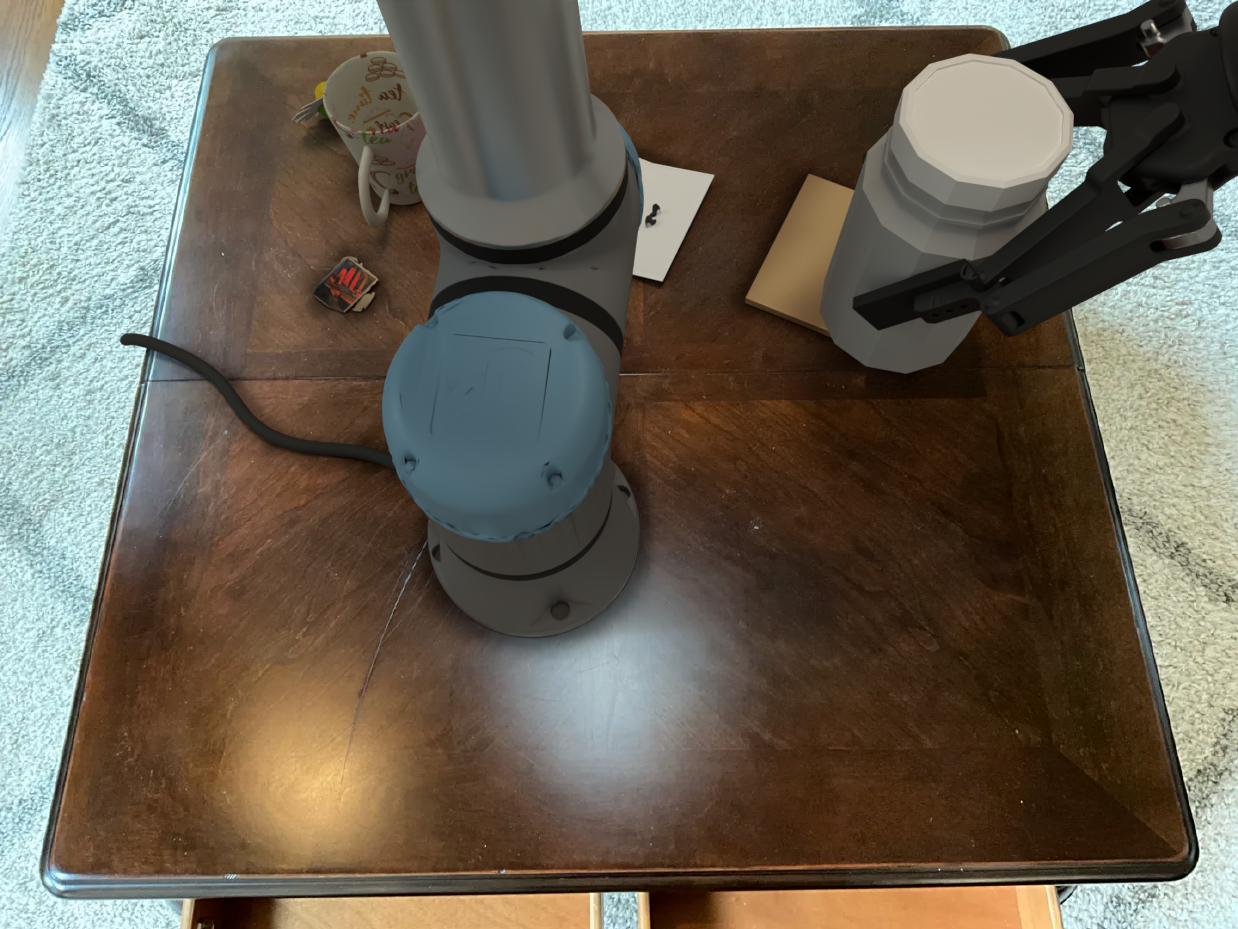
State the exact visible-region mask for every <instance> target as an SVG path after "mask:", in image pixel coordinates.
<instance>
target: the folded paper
mask: <svg viewBox="0 0 1238 929" xmlns="http://www.w3.org/2000/svg"><path fill="white" fill-rule="evenodd" d="M639 161H640V166H641V172H642V183H643V192H644V208H643V216H642V222H641V225H640V227H639V230H638V236H637V244H636V252H635V259H634V267H633V275H632V276H637V277H642V278H645V279H651V280H655V281H658V282H663V281H664V279H665V277H666V275H667V273H668V271H669V269H670V267H671V265H672V263H673V261H674V259H675V256H676V254H678V251H679V248H680V246H681V244H682V242H683V241H684V239H685V237H686V235H687V233H688V230H689V228H690V227H691V225H692V223H693V220H694V218H695V217H696V214H697V212H698V210H699V208H700V206H701V204H702V202H703V200H704V198H705V196H706V194H707V192H708V190H709V187H710V186H711V184H712V181H713V179H714V177H715V174H711V173H706V172H701V171H696V170H690V169H685V168H680V167H674V166H669V165H665V164H659V163H654V162H651V161H648V160H646V159H643V158H641V157H639Z"/></svg>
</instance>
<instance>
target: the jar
mask: <svg viewBox="0 0 1238 929" xmlns="http://www.w3.org/2000/svg"><path fill="white" fill-rule="evenodd" d="M893 116H894V117H893V124H892V125H891V126H890V127H889V128H888V130H887V132H886V133H884V135H883V136H882V137H880V138H879V139H878V140H877V142H875V143H874V144H873V146H871V148H870V149H868V150H867V155H866V158H865V161H864V164H863V163H862V168H861V169H860V173H859V176H858V179H857V182H856V184H855V188H854V190H855V191H854V194H853V197H852V199H851V202H850V205H849V208H848V211H847V214H846V217H845V220H844V223H843V226H842V229H841V232H840V235H839V238H838V241H837V244H836V247H835V250H834V253H833V256H832V259H831V262H830V265H829V268H828V271H827V274H826V277H825V279H824V286H823V292H822V298H821V304H820V311H819V312H820V314H821V316H822V318H823V320H824V322H825V324H826V327H827V329H828V331H829V333H830V335H831V337H832V338H831V337H830V338H831V340H832V342H833V343H834V345H836V346H838V347H839V348H840V349H842V351H844V352H846V353H847V354H848V355H849V356H850V357H852V358H854V359H855V360H857V361H858V362H859V363H860V364H862V365H863V366H865V367H868V368H872V369H878V370H885V371H890V372H895V373H901V374H905V375H906V374H909V373H913V372H917V371H919V370H923V369H926V368H930V367H933V366H936V365H940V364H943V363H944V362H945V361H946V360H947V358H949V356H950V355H951V354H952V353H953V352H954V351H955V350H956V348H957V347H959V345H960V344H961V343H962V342H963V341H964V340H965V338H966V337H967V336H968V334H969V332H970V331H971V329H972V328H973V326H974V325H975V324H976V322H977V320H978V319H979V317H980V316H981V314H983V313H982V312H981V311H976V312H973V313H970V314H966V315H963V316H960V317H956V318H952V319H950V320H945V321H943V322H940V323H937V324H930V323H926V322H925V321H924V320H923V319H922V318H918V319H915V320H911V321H908V322H905V323H902V324H899V325H895V326H892V327H889V328H886V329H883V330H879V331H878V330H877V329H876V328H874V327H873V326H872V325H871V324H870V323H869V322H867V321H866V320H865V319H864V318H863V317H862V316H860V315H859V314H858V313H857V312H856V311H855V310H853V309H852V307H853V297H855V296H858V295H861V294H864V293H867V292H870V291H873V290H875V289H878V288H881V287H884V286H887V285H890V284H893V283H895V282H898V281H901V280H904V279H907V278H910V277H913V276H915V275H918V274H921V273H924V272H927V271H930V270H933V269H935V268H938V267H941V266H944V265H947V264H950V263H953V262H955V261H958V260H961V259H964V258H965V259H966V260H967V261H968V263H969V264H970V265H971V266H972V267H973V268H974V269H975V268H977V267H978V266H979V265H980V264H982V263H983V262H984V261H985V260H987V259H988V258H989V257H990V256H992V255H993V254H994V253H995V252H997V251H998V250H999V249H1000V248H1001V247H1003V246H1004V245H1005V244H1006V243H1008V242H1009V241H1010V240H1011V239H1013V238H1014V237H1015V236H1016V235H1018V234H1019V233H1020V232H1021V231H1023V230H1024V229H1025V228H1026V227H1028V226H1029V225H1030V224H1031V223H1033V222H1034V221H1035V220H1036V219H1038V218H1039V217H1040V216H1041V215H1043V214H1044V213H1045V212H1046V202H1047V191H1048V189H1049V185H1050V184H1049V183H1050V182H1051V180H1052V179H1053V178H1054V177H1055V176H1056V175H1057V174H1058V172H1059V171H1060V169H1061V167H1062V166H1063V164H1064V163H1065V161H1066V160H1067V158H1068V157H1069V155H1070V153H1071V152H1072V151H1073V146H1074V144H1073V141H1074V127H1073V120H1074V114H1073V112H1072V111H1071V109H1070V108H1069V106H1068V105H1067V103H1066V102H1065V100H1064V99H1063V97H1062V96H1061V94H1060V93H1059V91H1058V90H1057V88H1056V87H1055V85H1054V84H1053V83H1052V81H1050V80H1048V79H1046V78H1045V77H1043V76H1041V75H1039V74H1038V73H1036V72H1034V71H1032V70H1031V69H1029V68H1027V67H1026V66H1024V65H1022V64H1020V63H1019V62H1017V61H1015V60H1011V59H1005V58H998V57H991V56H990V55H982V54H978V53H977V54H976V53H965V54H963V55H962V54H961V55H958V56H954V57H952V58H947V59H943V60H939V61H935V62H932V63H928V64H927V66H926V67H925V68H923V70H921V71H920V73H918V74H917V75H916V76H915V77H914V78H913V79H912V80H911V81H910V82H909V83H908V84H907V85H906V86H905V87H903V90H902V93H901V96H900V97H899V101H898V104H897V107H896V110H895V113H894V115H893ZM1003 279H1004V278H1002V279H1000V281H1002V280H1003Z"/></svg>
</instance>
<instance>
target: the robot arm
mask: <svg viewBox="0 0 1238 929" xmlns="http://www.w3.org/2000/svg"><path fill="white" fill-rule="evenodd" d="M375 2H376V4H377V6H378V9H379V11H380V14H381V17H382V19H383V22H384V25H385V27H386V30H387V32H388V36H389V37H390V41H391V43H392V46H393V48H394V51H395V53H396V54H397V56H398V59H399V62H400V64H401V67H402V69H403V72H404V75H405V77H406V80H407V83H408V85H409V88H410V90H411V93H412V96H413V98H414V101H415V104H416V106H417V109H418V111H419V114H420V117H421V119H422V122H423V125H424V127H425V130H426V132H427V133H426V135H425V137H424V139H423V141H422V143H421V146H420V149H419V152H418V155H417V161H416V181H417V186H418V191H419V194H420V197H421V199H422V201H421V202H422V203H423V206H424V208H425V210H426V213H427V215H428V218H429V220H430V222H431V225H432V227H433V229H434V232H435V235H436V237H437V239H438V242H439V249H440V255H439V256H440V257H439V264H438V270H437V273H436V279H435V283H434V288H433V292H432V296H431V301H430V306H429V311H428V315H427V320H426V322H425V323H424V324H421V323H417V324H416V325H415V326H414V328H412V330H411V331H410V332H409V333H408V334H407V335H406V337H405V338H404V339H403V341H402V343H401V344H400V346H399V347H398V349H397V350H396V352H395V354H394V356H393V357H392V360H391V362H390V365H389V367H388V370H387V373H386V377H385V380H384V386H383V392H382V401H381V418H382V426H383V433H384V436H385V440H386V444H387V446H388V452H389V453H388V452H386V451H383V450H380V449H377V448H373V447H369V446H364V445H359V444H353V443H342V442H331V441H317V440H311V439H304V438H300V437H299V438H298V437H295V436H292V435H288V434H285V433H282V432H280V431H278V430H276V429H274V428H272V427H271V426H269V425H267V424H265V423H264V422H263V421H261V420H260V419H259V418H258V417H257V416H256V415H254V413H253V412H252V411H251V409H250V408H249V407H248V405H246V403H245V402H244V400H243V398H241V397H240V395H239V393H238V392H237V390H236V389H235V388H234V387H233V385H232V384H231V383H230V382H229V380H227V378H226V377H225V376H224V375H223V374H222V372H220V371H219V370H218V369H217V368H215V367H214V365H211V364H210V363H208V362H207V361H206V360H204V359H202V358H201V357H199V356H197V355H195V354H194V353H192V352H189V350H186V349H183V348H181V347H180V346H177V345H175V344H173V343H170V342H168V341H166V340H162V339H159V338H156V337H154V336H150V335H146V334H143V333H137V332H127V333H124V334H122V335H121V336H120V339H119V343H120V344H121V345H122V346H125V347H128V346H129V347H130V346H134V347H140V348H143V349H146V350H149V351H150V350H151V351H154V352H156V353H159V354H162V355H164V356H166V357H169V358H170V359H174V360H175V361H178V362H180V363H182V364H184V365H185V366H188V367H189V368H191V369H193V370H195V371H197V372H198V373H200V374H201V375H202V376H204V377H205V378H206V379H207V380H209V382H211V383H212V384H213V386H215V387H216V389H218V391H219V392H220V394H221V395H222V397H223V398H224V399H225V401H226V402H227V403H228V405H229V407H230V408H231V409H232V411H233V412H234V413H235V415H236V416H237V417H238V418H239V419H240V420H241V422H242V423H243V424H244V425H245V426H246V427H247V428H248V429H249V430H251V432H253V433H254V434H256V435H257V436H258V437H259V438H261V439H263V440H265V441H267V442H268V443H271V444H273V445H274V446H278V447H281V448H283V449H286V450H291V451H294V452H298V453H304V454H310V455H319V456H321V455H322V456H331V457H333V456H334V457H344V458H352V459H358V460H363V461H367V462H370V463H371V462H372V463H374V464H378V465H380V466H383V467H386V468H388V469H391V470H393V471H394V472H396V474H397V477H398V478H399V480H400V482H401V484H402V485H403V486H404V488H405V490H406V491H407V494H408V495H409V496H410V498H411V500H412V501H413V502H414V503H415V504H416V505H417V506H418V507H419V508H420V509H421V510H422V512H423V513H424V515H425V516H426V517H427V520H428V521H427V544H428V545H427V546H428V552H429V557H430V562H431V565H432V567H433V568H432V569H433V571H434V573H435V575H436V577H437V579H438V582H439V583H440V585H441V587H442V589H443V590H444V591H445V593H446V594H447V595H448V597H449V598H450V600H452V602H453V603H454V604H455V605H456V606H457V607H458V608H459V610H461V611H462V612H463V613H464V614H465V615H466V616H468V617H469V618H471V619H472V620H473V621H475V622H476V623H478V624H480V625H482V626H483V627H486V628H487V629H491V630H492V631H495V632H498V633H501V634H503V635H508V636H514V637H521V638H541V637H549V636H555V635H559V634H562V633H566V632H569V631H571V630H574V629H576V628H579V627H581V626H583V625H585V624H587V623H588V622H590V621H592V620H593V619H594V618H596V617H597V616H599V615H600V614H602V612H604V611H605V610H606V609H607V608H608V607H609V606H610V605H611V604H612V603H613V602H614V601H615V600H616V599H617V597H618V596H619V595H620V593H621V592H622V590H623V589H624V587H625V586H626V585H627V582H628V581H629V579H630V577H631V574H632V572H633V570H634V567H635V563H636V560H637V558H638V553H639V546H640V529H641V528H640V526H641V525H640V515H639V510H638V505H637V501H636V499H635V495H634V493H633V491H632V488H631V486H630V483H629V482H628V480H627V478H626V476H625V475H624V473H623V472H622V470H621V469H620V467H619V466H618V465H617V464H616V463H615V461H614V460H613V459H612V446H613V444H612V443H613V433H614V424H615V416H616V409H617V408H616V407H617V401H618V400H617V399H618V392H619V383H620V375H621V367H622V366H621V365H622V357H623V348H624V344H625V336H626V328H627V319H628V312H629V304H630V296H631V291H632V290H631V289H632V281H633V276H634V275H633V267H634V259H635V252H636V244H637V236H638V230H639V227H640V225H641V222H642V216H643V208H644V192H643V183H642V172H641V166H640V161H639V158H640V157H639V154H638V152H637V149H636V147H635V145H634V143H633V140H632V139H631V137H630V135H629V134H628V133H627V130H625V128H624V127H623V125H621V123H620V122H619V121H618V119H617V118H616V115H615V114H614V113H613V111H612V110H611V109H610V108H609V107H608V105H607V104H606V103H604V102H603V100H601V99H600V98H598V97H597V96H596V95H594V94H593V93H592V92H591V87H590V79H589V72H588V63H587V57H586V50H585V43H584V42H585V41H584V36H583V28H582V21H581V13H580V6H579V0H375ZM989 56H991V57H998V58H1005V59H1011V60H1015V61H1017V62H1019V63H1020V64H1022V65H1024V66H1026V67H1027V68H1029V69H1031V70H1032V71H1034V72H1036V73H1038V74H1039V75H1041V76H1043V77H1045V78H1046V79H1048V80H1050V81H1052V83H1053V84H1054V85H1055V87H1056V88H1057V90H1058V91H1059V93H1060V94H1061V96H1062V97H1063V99H1064V100H1065V102H1066V103H1067V105H1068V106H1069V108H1070V109H1071V111H1072V112H1073V114H1074V120H1073V128H1093V127H1095V128H1101V129H1102V130H1104V131H1106V133H1105V136H1104V141H1103V144H1102V155H1103V156H1102V157H1101V158H1099V159H1098V160H1097V161H1096V162H1094V163H1093V164H1092V165H1091V166H1090V167H1088V169H1087V171H1086V172H1085V176H1084V177H1085V178H1084V179H1083V181H1082V182H1081V183H1080V184H1078V185H1077V186H1076V187H1075V188H1074V189H1072V190H1071V191H1070V192H1069V193H1068V194H1066V195H1065V196H1064V197H1062V198H1061V199H1060V200H1059V201H1057V202H1056V203H1055V204H1054V205H1052V206H1051V207H1050V208H1048V210H1045V213H1044V214H1043V215H1041V216H1040V217H1039V218H1038V219H1036V220H1035V221H1034V222H1033V223H1031V224H1030V225H1029V226H1028V227H1026V228H1025V229H1024V230H1023V231H1021V232H1020V233H1019V234H1018V235H1016V236H1015V237H1014V238H1013V239H1011V240H1010V241H1009V242H1008V243H1006V244H1005V245H1004V246H1003V247H1001V248H1000V249H999V250H998V251H997V252H995V253H994V254H993V255H992V256H990V257H989V258H988V259H987V260H985V261H984V262H983V263H982V264H980V265H979V266H978V267H977V268H975V269H974V268H973V267H972V266H971V265H970V264H969V263H968V261H967V260H966V259H965V258H964V259H961V260H958V261H955V262H953V263H950V264H947V265H944V266H941V267H938V268H935V269H933V270H930V271H927V272H924V273H921V274H918V275H915V276H913V277H910V278H907V279H904V280H901V281H898V282H895V283H893V284H890V285H887V286H884V287H881V288H878V289H875V290H873V291H870V292H867V293H864V294H861V295H858V296H855V297H853V307H852V309H853V310H855V311H856V312H857V313H858V314H859V315H860V316H862V317H863V318H864V319H865V320H866V321H867V322H869V323H870V324H871V325H872V326H873V327H874V328H876V329H877V330H878V331H879V330H883V329H886V328H889V327H892V326H895V325H899V324H902V323H905V322H908V321H911V320H915V319H918V318H922V319H923V320H924V321H925V322H926V323H930V324H937V323H940V322H943V321H945V320H950V319H952V318H956V317H960V316H963V315H966V314H970V313H973V312H976V311H981V312H982V313H981V314H983V315H984V316H985V318H987V319H988V320H989V321H990V323H992V325H993V326H994V327H996V329H997V330H998V331H999V332H1001V333H1002V335H1003V336H1005V337H1007V338H1014V337H1017V336H1019V335H1021V334H1022V333H1025V332H1027V331H1028V330H1031V329H1033V328H1035V327H1037V326H1039V325H1040V324H1043V323H1045V322H1046V321H1048V320H1051V319H1053V318H1054V317H1056V316H1059V315H1061V314H1062V313H1065V312H1066V311H1069V310H1071V309H1072V308H1075V307H1076V306H1079V305H1081V304H1082V303H1084V302H1087V301H1088V300H1090V299H1093V298H1095V297H1096V296H1099V295H1101V294H1103V293H1105V292H1106V291H1109V290H1110V289H1112V288H1114V287H1116V286H1118V285H1120V284H1122V283H1124V282H1126V281H1128V280H1130V279H1132V278H1134V277H1136V276H1138V275H1141V274H1142V273H1144V272H1146V271H1148V270H1151V269H1152V268H1154V267H1156V266H1159V265H1160V264H1162V263H1164V262H1168V261H1172V260H1177V259H1181V258H1182V259H1183V258H1187V257H1190V256H1195V255H1199V254H1203V253H1207V252H1210V251H1212V250H1214V249H1215V248H1217V247H1218V246H1219V245H1220V244H1221V243H1222V240H1223V233H1222V231H1221V229H1220V228H1219V226H1218V224H1217V222H1216V221H1215V219H1214V197H1215V196H1214V193H1215V192H1216V191H1218V190H1219V189H1221V188H1222V187H1223V186H1225V185H1226V184H1228V183H1229V182H1230V181H1232V180H1233V179H1235V178H1237V177H1238V0H1235V1H1233V2H1231V3H1230V4H1228V5H1227V6H1226V7H1225V8H1224V9H1223V11H1222V12H1221V14H1220V16H1219V19H1218V23H1217V25H1215V26H1213V27H1210V28H1205V29H1201V30H1198V24H1197V23H1196V20H1195V18H1194V16H1193V14H1192V12H1191V9H1190V8H1189V5H1188V4H1187V2H1186V0H1147V1H1145V2H1144V3H1142V4H1140V5H1138V6H1136V7H1134V8H1133V9H1131V10H1129V11H1127V12H1125V13H1121V14H1118V15H1115V16H1112V17H1108V18H1105V19H1102V20H1099V21H1095V22H1092V23H1089V24H1086V25H1082V26H1079V27H1075V28H1072V29H1069V30H1066V31H1063V32H1060V33H1056V34H1053V35H1050V36H1047V37H1043V38H1040V39H1037V40H1033V41H1031V42H1027V43H1024V44H1020V45H1017V46H1015V47H1011V48H1008V49H1005V50H1002V51H998V52H995V53H993V54H990V55H989ZM1140 64H1141V65H1140ZM867 152H868V151H867ZM867 152H864V153H862V165H863V164H864V161H865V158H866V155H867ZM1119 183H1121V184H1122V185H1123V186H1125V187H1128V189H1127V190H1125V191H1123V189H1122V188H1121V186H1120V185H1119ZM1167 194H1168V195H1174V196H1173V197H1172V198H1170V197H1168V196H1165V195H1167ZM1154 203H1155V208H1152V209H1149V210H1146V209H1148V208H1149V207H1150V206H1152V205H1153V204H1154ZM1145 210H1146V211H1145ZM1117 223H1118V224H1117ZM1002 278H1004V279H1003V280H1002V281H1000V279H1002Z"/></svg>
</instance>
